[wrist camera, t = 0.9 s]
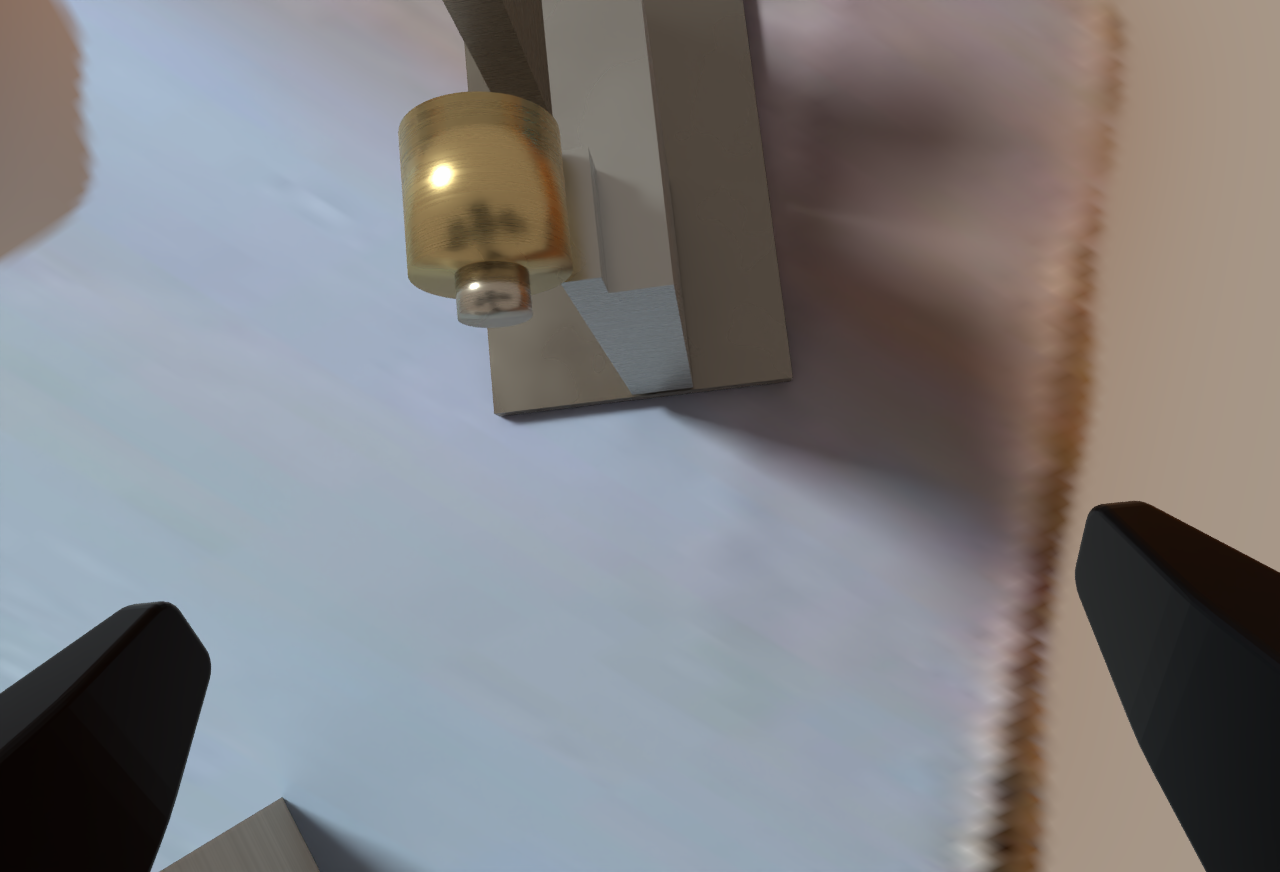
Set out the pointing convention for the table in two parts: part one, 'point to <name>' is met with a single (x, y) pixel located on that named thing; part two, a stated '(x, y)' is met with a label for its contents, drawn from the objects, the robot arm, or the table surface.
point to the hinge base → (701, 200)
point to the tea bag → (253, 847)
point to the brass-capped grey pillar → (556, 196)
